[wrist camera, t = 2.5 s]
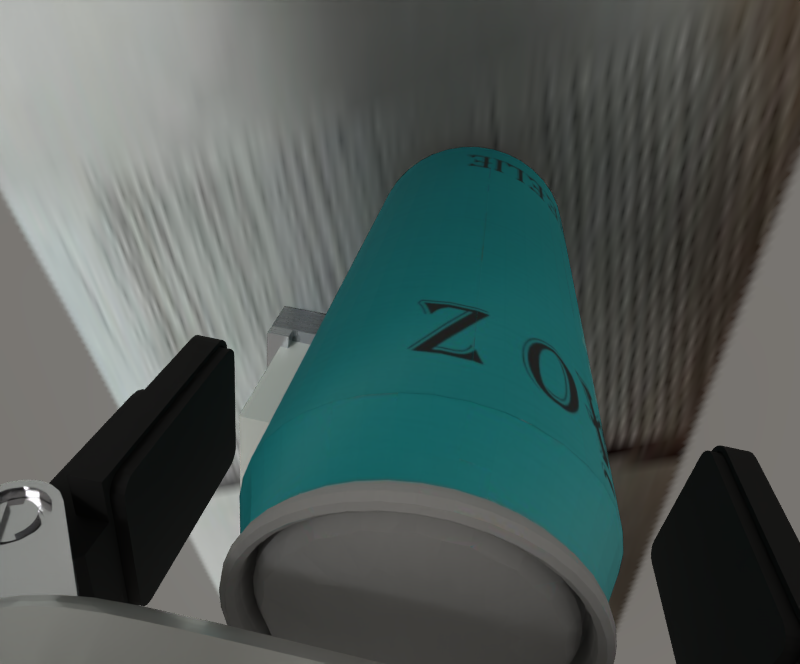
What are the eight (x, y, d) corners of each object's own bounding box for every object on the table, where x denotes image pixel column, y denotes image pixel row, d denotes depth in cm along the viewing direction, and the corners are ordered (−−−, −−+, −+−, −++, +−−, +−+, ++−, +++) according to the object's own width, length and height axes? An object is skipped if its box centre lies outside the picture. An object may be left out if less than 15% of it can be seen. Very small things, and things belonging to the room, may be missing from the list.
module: (284, 339, 22) (234, 422, 18) (466, 376, 22) (457, 469, 18) (282, 418, 24) (237, 507, 20) (447, 452, 24) (435, 551, 20)
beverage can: (495, 318, 22) (476, 788, 9) (361, 242, 21) (147, 645, 9) (594, 191, 19) (759, 637, 6) (442, 97, 18) (292, 395, 6)
